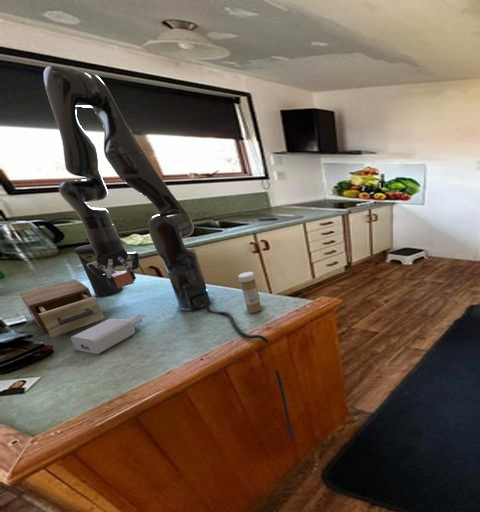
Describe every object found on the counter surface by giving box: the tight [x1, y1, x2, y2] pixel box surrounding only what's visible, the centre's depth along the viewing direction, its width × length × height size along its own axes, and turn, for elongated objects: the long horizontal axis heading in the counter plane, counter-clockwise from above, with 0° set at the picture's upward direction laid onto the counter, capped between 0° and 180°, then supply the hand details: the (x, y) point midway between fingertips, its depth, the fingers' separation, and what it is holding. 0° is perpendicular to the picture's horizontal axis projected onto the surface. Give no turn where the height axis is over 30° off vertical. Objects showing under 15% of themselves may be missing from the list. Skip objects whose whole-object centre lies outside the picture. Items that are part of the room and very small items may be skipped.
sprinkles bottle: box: [238, 271, 262, 314], centre depth 90 cm, size 5×5×14 cm
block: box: [112, 269, 135, 288], centre depth 99 cm, size 4×4×4 cm
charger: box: [70, 314, 146, 355], centre depth 80 cm, size 5×9×15 cm
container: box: [73, 243, 124, 297], centre depth 106 cm, size 9×9×20 cm
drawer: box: [36, 293, 105, 338], centre depth 85 cm, size 19×12×8 cm, turn 59°
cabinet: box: [19, 279, 93, 334], centre depth 91 cm, size 16×13×10 cm
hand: (124, 283), depth 99 cm, fingers closed on block, 4 cm apart
